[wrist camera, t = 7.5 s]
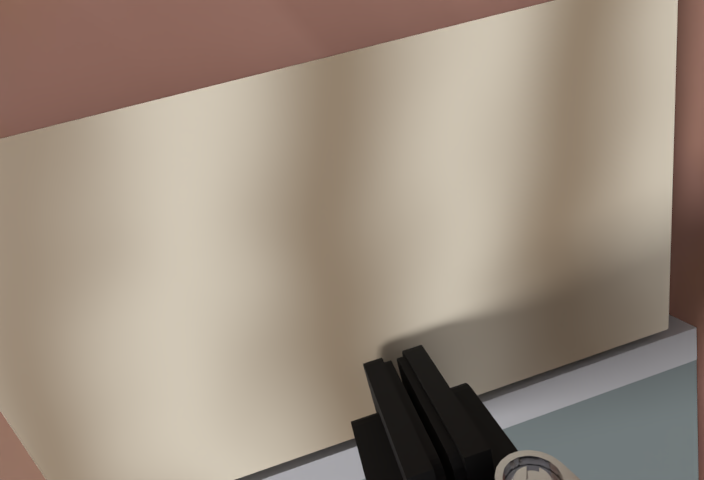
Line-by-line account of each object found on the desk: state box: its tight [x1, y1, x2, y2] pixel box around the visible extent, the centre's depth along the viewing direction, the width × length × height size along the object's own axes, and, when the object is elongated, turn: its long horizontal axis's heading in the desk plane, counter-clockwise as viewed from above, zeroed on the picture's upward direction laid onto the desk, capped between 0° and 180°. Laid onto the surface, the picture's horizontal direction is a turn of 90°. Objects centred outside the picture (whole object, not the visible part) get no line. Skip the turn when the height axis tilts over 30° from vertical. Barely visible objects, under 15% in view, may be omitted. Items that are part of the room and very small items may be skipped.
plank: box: [0, 0, 678, 480], centre depth 12 cm, size 18×10×1 cm, turn 104°
